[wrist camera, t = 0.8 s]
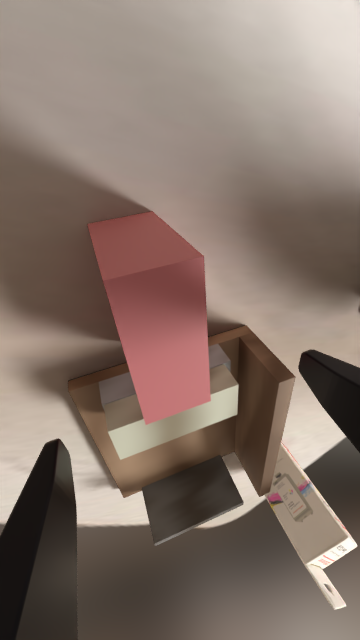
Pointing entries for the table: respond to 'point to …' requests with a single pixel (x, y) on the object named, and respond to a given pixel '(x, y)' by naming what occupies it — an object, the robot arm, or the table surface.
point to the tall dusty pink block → (156, 310)
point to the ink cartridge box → (308, 522)
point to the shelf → (192, 433)
